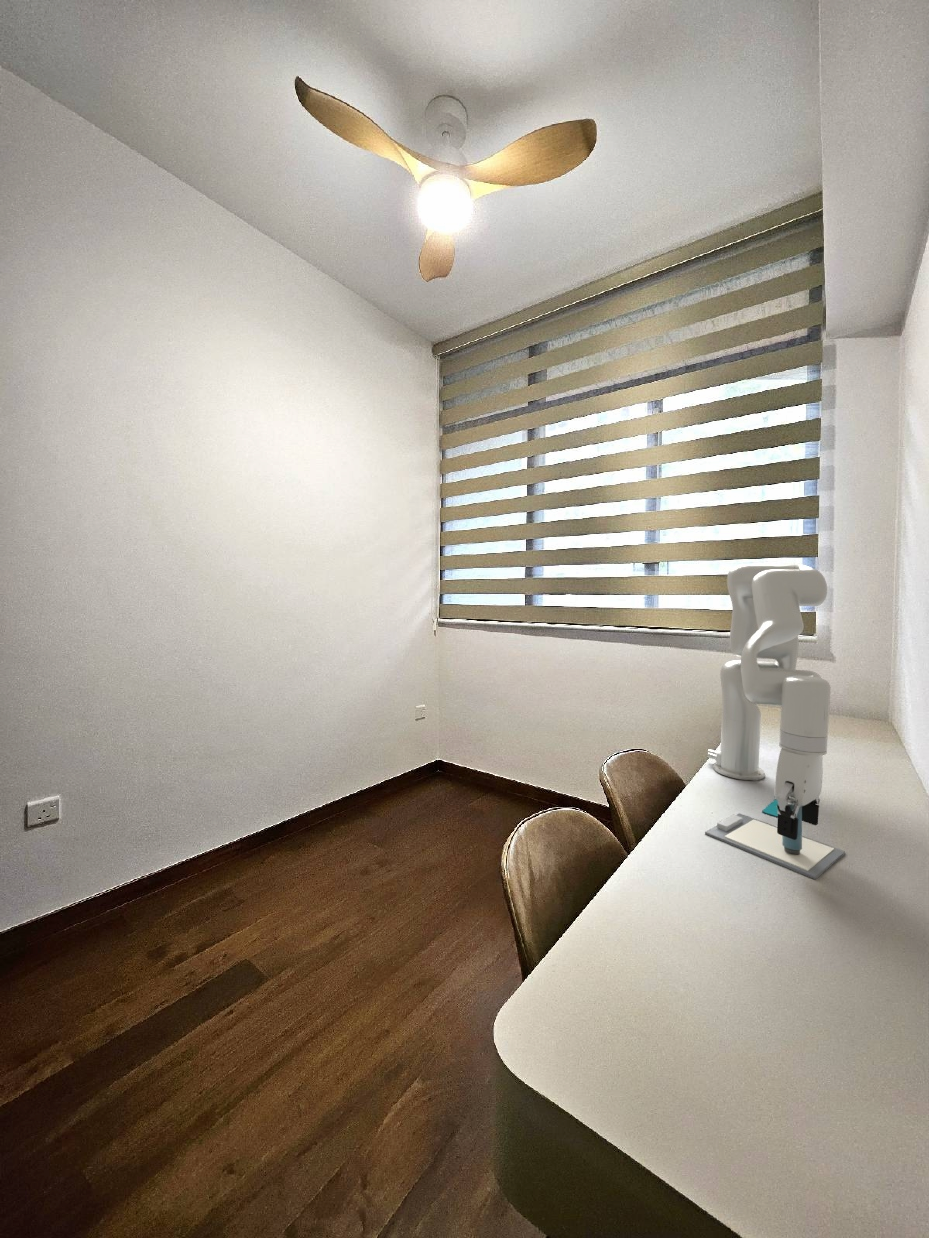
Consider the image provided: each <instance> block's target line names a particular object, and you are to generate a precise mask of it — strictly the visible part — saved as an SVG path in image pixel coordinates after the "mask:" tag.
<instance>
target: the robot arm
mask: <svg viewBox="0 0 929 1238" xmlns="http://www.w3.org/2000/svg"><path fill="white" fill-rule="evenodd" d="M726 585H727V586H726V587H727V591H728V594H729V597H730V601H731V605H732V614H731V621H730V622H731V623H730V633H729V650H730V652H731V653H732V654H733V655H734V656H737V657H738V658H739V657H740V659H737V660H736V659H735V660H730V661H727V662H725V663H724V664H723V665H722V666H721V668H720V671H719V672H720V674H719V675H720V677H719V678H720V679H719V680H720V685H721V694H722V695H721V696H722V697H721V698H722V704H721V707H722V708H721V709H722V710H721V729H720V732H721V733H720V751H716V750H713V749H711V748H710V749H708V750H707V752H706V754H707V758H709V759H712V760H715V762H714V763H713V770H714V771H716V773H718V774H721V775H723V776H725V777H728V778H731V779H736V780H743V781H758V780H760V781H761V780H763V779H764V778H765V776H766V775H765V774H766V772H765V771H764V769H762V768H760V767H759V764H760V763H759V762H760V741H761V722H762V713H761V709H760V708H759V706H758V705H765V706H767V705H768V706H781V707H780V719H779V720H780V721H779V722H780V724H779V740H778V741H779V742H778V746H779V748H780V751H779V754H778V760H777V766H776V773H775V781H774V791H773V796H774V798H775V799H777V802H778V805H777V807H778V811H777V813H778V818H777V826H776V827H777V833H778V834H780V835H782V836H785V837H788V838H790V839H793V840H796V839H797V835H798V818H796V816H797V813H798V810H799V807H801V806H802V822H804V823H807V824H810V825H812V826H817V825H818V824H819V814H820V813H819V812H820V811H819V809H820V805H819V804H820V801H821V799H820V796H821V793H822V788H823V771H824V770H823V768H824V767H823V766H824V763H823V756H825V755H826V754H828V741H829V740H828V737H829V736H828V735H829V722H830V721H829V718H830V707H831V706H830V703H831V685H830V683H829V682H828V681H827V680H826V679H824V678H822V676H821V675H820V674H819V673H818V672H815V671H813V670H806V669H797V662H798V661H797V660H798V654H799V644H800V643H799V642H800V641H799V636H800V635H801V634H802V633H803V631H804V627H805V626H804V621H803V617H802V612H801V608H800V607H818V606H820V605H822V604H823V603H825V600H826V598H827V595H828V585H827V581H826V578H825V577H824V575H823V574H822V572H820V571H819V570H818V569H817V568H813V567H811V566H808V565H805V564H799V563H798V564H795V563H793V564H792V563H789V564H788V563H785V564H784V563H780V564H779V563H747V564H745V563H744V564H737V565H735V566H733V567H732V568H730V570H729V571H728V573H727V578H726ZM758 659H764V660H765V659H766V660H774V661H759V660H758ZM789 798H791V799H794V800H797V801H793V800H790V799H789ZM788 804H790V805H793V806H794V807H793V810H791V808H790V806H788Z"/></svg>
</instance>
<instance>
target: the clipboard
mask: <svg viewBox="0 0 929 1238" xmlns="http://www.w3.org/2000/svg"><path fill="white" fill-rule="evenodd" d="M704 834H705V835H707V836H709V837H712V838H714V839H716V840H717V841H718V840H719V841H721V842H723V843H726V844H728V845H730V846H733V847H734V848H735V847H736V848H738V849H740V850H742V851H745V852H747V853H749V854H752V855H755V856H758V857H759V858H762V859H764V860H767V861H769V862H771V863H774V864H775V865H776V864H777V865H779V866H782V867H784V868H786V869H788V870H790V871H794V872H796V873H798V874H799V875H800V874H801V875H803V876H805V877H808V878H810V879H813V880H816V879H818V878H819V877H820V876H821V875H822V874H823V873H825V872H826V871H827V870H828V869H829V868H831V867H832V866H833V865H834V864H835V863H836V862H837V861H839V860H840V859H841V858H842V857H843V856H844V855H845V854H846V851H845V850H844V849H840V848H837V847H834V846H832V845H829V844H826V843H823V842H820V841H818V840H815V839H813V838H809V837H808V836H804V835H802V849H801V850H800V854H799V855H794V854H790V853H787V852H785V851H784V846H783V845H782V835H780V834H778V833H777V826H776V825H774V824H771V823H767V822H765V821H762V820H759V819H757V818H754V817H751V816H749V815H745V814H743V813H740V812H739V813H737V814H731V815H730V816H727V817H725V818H724V819H721V820H719V822H717V825H715V826H712V827H711V828H709V829H708V830H706V831H705V832H704Z"/></svg>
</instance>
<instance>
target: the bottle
mask: <svg viewBox="0 0 929 1238" xmlns="http://www.w3.org/2000/svg"><path fill="white" fill-rule="evenodd" d="M789 799H790V800H793V801H797V800H794V799H791V798H789ZM788 806H790V808H791V810H793V807H794V806H793V805H790V804H788ZM796 818H798V835H797V839H796V840H793V839H790V838H788V837H785V836H782V845H783V846H784V851H785V852H787V853H790V854H794V855H799V854H800V850H801V849H802V836H803V821H802V806H801V807H799V810H798V813H797V816H796Z"/></svg>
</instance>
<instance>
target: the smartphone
mask: <svg viewBox="0 0 929 1238" xmlns="http://www.w3.org/2000/svg"><path fill="white" fill-rule="evenodd" d="M777 805H778V802H777V799H776V798H775V799H774V800H773V801H772V802H770V803H769V804H768V805H767V806H765V807H764V808H763V809H762V811H761V814H764V815H767V816H770V817H773V818H776V819H778V813H777V811H778V807H777Z"/></svg>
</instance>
